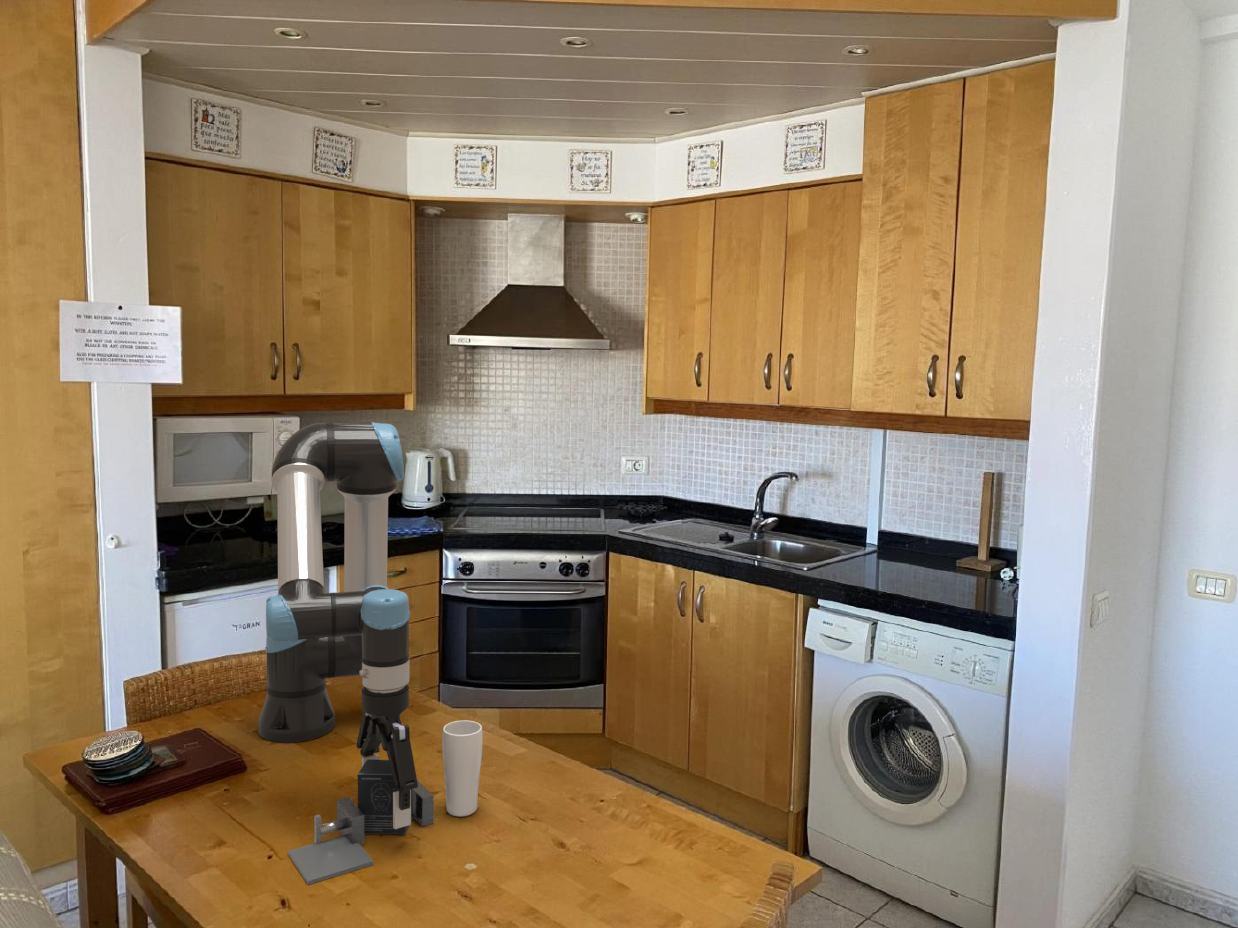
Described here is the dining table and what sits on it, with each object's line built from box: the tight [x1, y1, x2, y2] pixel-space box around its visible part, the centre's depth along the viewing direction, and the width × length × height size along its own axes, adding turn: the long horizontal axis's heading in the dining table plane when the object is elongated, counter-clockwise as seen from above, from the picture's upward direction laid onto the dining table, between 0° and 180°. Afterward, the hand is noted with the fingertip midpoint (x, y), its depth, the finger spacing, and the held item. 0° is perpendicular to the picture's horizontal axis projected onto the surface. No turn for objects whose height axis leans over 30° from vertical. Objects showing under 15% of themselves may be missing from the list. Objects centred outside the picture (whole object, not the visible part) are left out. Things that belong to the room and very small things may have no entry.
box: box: [357, 759, 414, 835], centre depth 153 cm, size 8×6×11 cm
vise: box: [313, 779, 435, 846], centre depth 151 cm, size 7×19×5 cm, turn 126°
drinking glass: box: [441, 719, 483, 817], centre depth 158 cm, size 7×7×15 cm
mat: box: [287, 834, 374, 886], centre depth 143 cm, size 10×10×1 cm
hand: (385, 808), depth 153 cm, fingers open, 13 cm apart
